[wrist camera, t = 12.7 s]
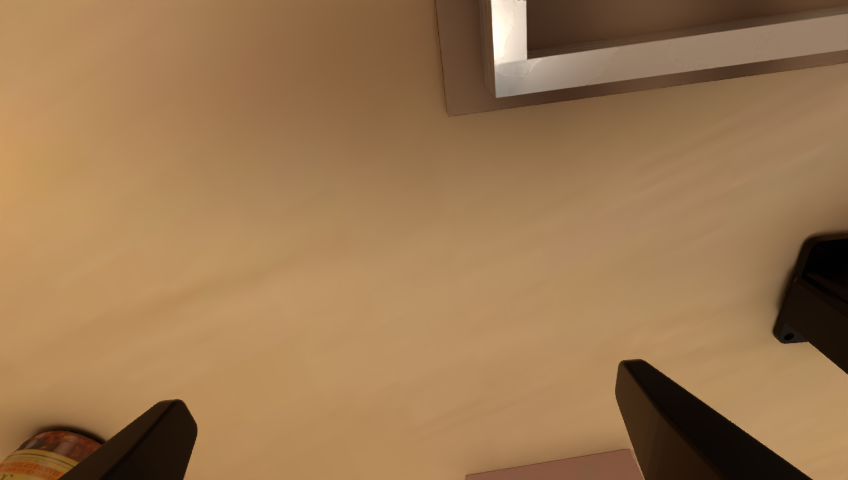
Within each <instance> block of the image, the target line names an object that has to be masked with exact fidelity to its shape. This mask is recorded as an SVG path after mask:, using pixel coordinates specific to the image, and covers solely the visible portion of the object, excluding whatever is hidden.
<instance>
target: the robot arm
mask: <svg viewBox="0 0 848 480" xmlns="http://www.w3.org/2000/svg"><path fill="white" fill-rule="evenodd" d="M774 337H775V338H776V339H777V340H778V341H780V342H781V343H784V344H788V343H799V342H809V343H811V344H812V345H813V346H814V347H815V348H817V349H818V350H819V351H820V352H821V353H823V354H824V355H825V356H826V357H827V358H829V359H830V360H831V361H832V362H833V363H835V364H836V365H837V366H838V367H839V368H841V369H842V370H843V371H844V372H845V373H846V374H848V234H839V235H830V236H821V237H815V238H812V239H810V240H809V241H808V242H807V243H806V244H805V245H804V247H803V250H802V253H801V256H800V259H799V262H798V265H797V267H796V270H795V273H794V276H793V279H792V282H791V285H790V288H789V291H788V293H787V296H786V299H785V302H784V305H783V308H782V311H781V314H780V317H779V320H778V322H777V325H776V328H775V331H774ZM615 395H616V400H617V403H618V406H619V409H620V412H621V414H622V417H623V420H624V423H625V426H626V428H627V431H628V434H629V437H630V440H631V443H632V445H633V448H634V451H635V454H636V457H637V459H638V462H639V465H640V468H641V471H642V473H643V476H644V478H645V480H813V479H811V478H810V477H808V476H807V475H806V474H804V473H803V472H801V471H800V470H798V469H797V468H796V467H794V466H793V465H791V464H790V463H789V462H787V461H786V460H784V459H783V458H782V457H780V456H779V455H777V454H776V453H774V452H773V451H772V450H770V449H769V448H767V447H766V446H765V445H763V444H762V443H760V442H759V441H758V440H756V439H755V438H753V437H752V436H750V435H749V434H748V433H746V432H745V431H743V430H742V429H741V428H739V427H738V426H736V425H735V424H734V423H732V422H731V421H729V420H728V419H727V418H725V417H724V416H722V415H721V414H719V413H718V412H717V411H715V410H714V409H712V408H711V407H710V406H708V405H707V404H705V403H704V402H703V401H701V400H700V399H698V398H697V397H695V396H694V395H693V394H691V393H690V392H688V391H687V390H686V389H684V388H683V387H681V386H680V385H679V384H677V383H676V382H674V381H673V380H671V379H670V378H669V377H667V376H666V375H664V374H663V373H662V372H660V371H659V370H657V369H656V368H655V367H653V366H652V365H650V364H649V363H647V362H646V361H644V360H642V359H632V360H623V361H621V362H620V363H619V366H618V372H617V380H616V387H615ZM196 437H197V424H196V422H195V420H194V418H193V417H192V415H191V413H190V411H189V410H188V408H187V406H186V404H185V403H184V402H183V401H182V400H180V399H174V400H164V401H160V402H158V403H157V404H155V405H154V406H153V407H151V408H150V409H149V410H147V411H146V412H145V413H143V414H142V415H141V416H140V417H138V418H137V419H136V420H134V421H133V422H132V423H130V424H129V425H128V426H126V427H125V428H124V429H123V430H121V431H120V432H119V433H117V434H116V435H115V436H113V437H112V438H111V439H109V440H108V441H107V442H106V443H104V444H103V445H102V446H100V447H99V448H98V449H96V450H95V451H94V452H92V453H91V454H90V455H88V456H87V457H86V458H85V459H83V460H82V461H81V462H79V463H78V464H77V465H75V466H74V467H73V468H71V469H70V470H69V471H68V472H66V473H65V474H64V475H62V476H61V477H60V478H58V479H57V480H183V479H184V476H185V473H186V469H187V466H188V463H189V460H190V457H191V454H192V450H193V447H194V444H195V441H196Z"/></svg>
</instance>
